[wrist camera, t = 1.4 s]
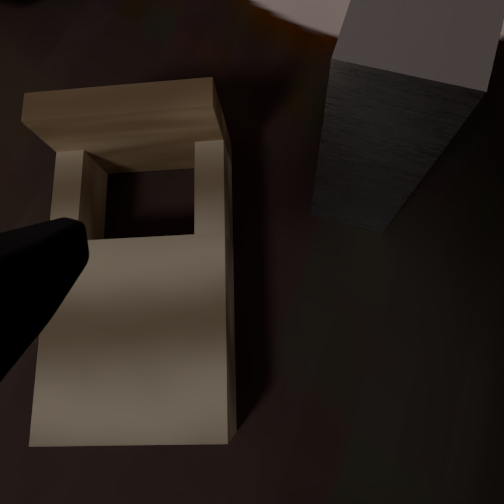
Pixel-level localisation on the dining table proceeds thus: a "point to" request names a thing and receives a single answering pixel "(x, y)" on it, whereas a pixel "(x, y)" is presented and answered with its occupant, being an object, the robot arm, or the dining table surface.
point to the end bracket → (398, 100)
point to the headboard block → (139, 274)
